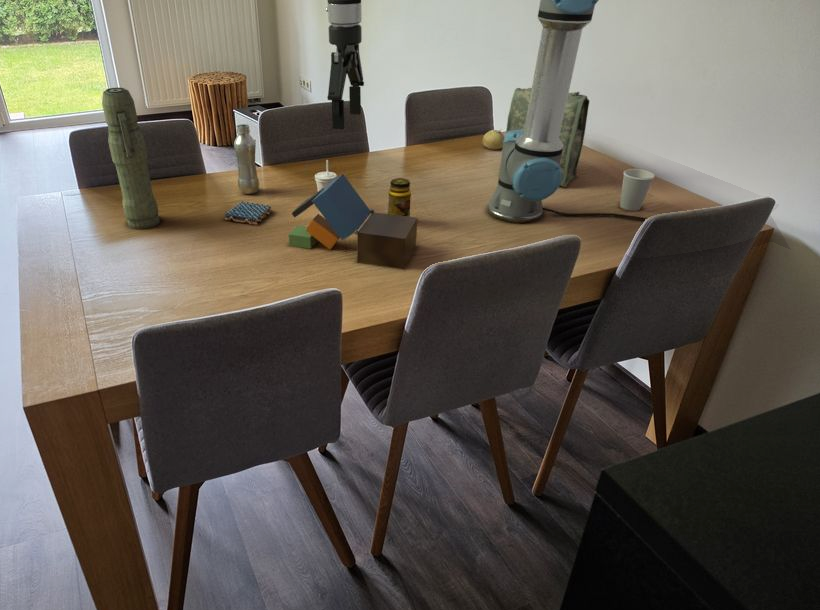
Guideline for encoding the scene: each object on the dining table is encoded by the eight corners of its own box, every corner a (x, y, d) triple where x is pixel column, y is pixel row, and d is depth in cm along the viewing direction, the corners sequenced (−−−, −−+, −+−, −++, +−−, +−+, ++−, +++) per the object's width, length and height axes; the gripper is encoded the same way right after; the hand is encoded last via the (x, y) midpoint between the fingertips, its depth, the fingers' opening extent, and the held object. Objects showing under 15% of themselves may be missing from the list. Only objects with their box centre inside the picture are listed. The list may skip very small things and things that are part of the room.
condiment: (407, 229, 167) (409, 186, 160) (377, 225, 169) (378, 183, 162) (413, 218, 173) (415, 177, 166) (384, 215, 175) (385, 174, 168)
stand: (416, 245, 159) (418, 214, 154) (402, 270, 148) (404, 237, 143) (370, 239, 162) (371, 208, 157) (353, 262, 151) (353, 230, 146)
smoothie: (334, 212, 177) (333, 164, 169) (313, 210, 178) (311, 163, 170) (339, 204, 182) (339, 157, 174) (318, 202, 183) (317, 155, 175)
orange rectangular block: (311, 224, 159) (335, 243, 160) (305, 230, 156) (330, 249, 157) (318, 213, 157) (343, 232, 158) (312, 219, 154) (338, 238, 154)
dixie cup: (649, 206, 180) (659, 173, 174) (638, 214, 175) (648, 180, 170) (622, 199, 185) (630, 166, 179) (610, 207, 180) (618, 173, 174)
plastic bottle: (234, 194, 188) (226, 127, 177) (245, 187, 193) (239, 122, 182) (253, 197, 186) (246, 130, 175) (263, 190, 191) (258, 124, 180)
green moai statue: (154, 212, 177) (128, 82, 157) (165, 226, 168) (139, 92, 148) (122, 218, 173) (92, 86, 153) (132, 233, 165) (101, 96, 145)
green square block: (297, 236, 164) (318, 239, 162) (289, 245, 159) (310, 248, 157) (297, 225, 162) (318, 227, 160) (288, 234, 157) (310, 237, 156)
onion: (481, 151, 223) (484, 131, 219) (481, 144, 230) (484, 125, 225) (504, 152, 222) (506, 132, 218) (503, 145, 228) (506, 126, 224)
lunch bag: (578, 174, 203) (597, 86, 187) (563, 189, 191) (582, 97, 176) (513, 162, 212) (526, 78, 196) (496, 176, 201) (508, 88, 185)
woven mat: (223, 220, 172) (222, 213, 171) (241, 207, 180) (240, 200, 179) (256, 226, 169) (255, 219, 168) (273, 211, 177) (272, 205, 176)
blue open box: (342, 172, 153) (303, 201, 161) (325, 189, 143) (285, 218, 151) (371, 212, 156) (332, 238, 164) (357, 230, 147) (316, 257, 155)
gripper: (345, 16, 149) (348, 107, 161) (310, 32, 130) (315, 134, 142) (375, 17, 147) (375, 109, 159) (343, 33, 128) (346, 136, 140)
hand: (347, 121), depth 151 cm, fingers open, 13 cm apart
